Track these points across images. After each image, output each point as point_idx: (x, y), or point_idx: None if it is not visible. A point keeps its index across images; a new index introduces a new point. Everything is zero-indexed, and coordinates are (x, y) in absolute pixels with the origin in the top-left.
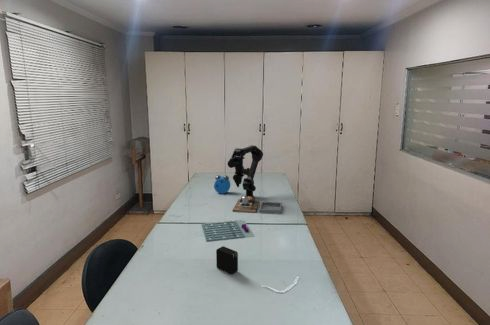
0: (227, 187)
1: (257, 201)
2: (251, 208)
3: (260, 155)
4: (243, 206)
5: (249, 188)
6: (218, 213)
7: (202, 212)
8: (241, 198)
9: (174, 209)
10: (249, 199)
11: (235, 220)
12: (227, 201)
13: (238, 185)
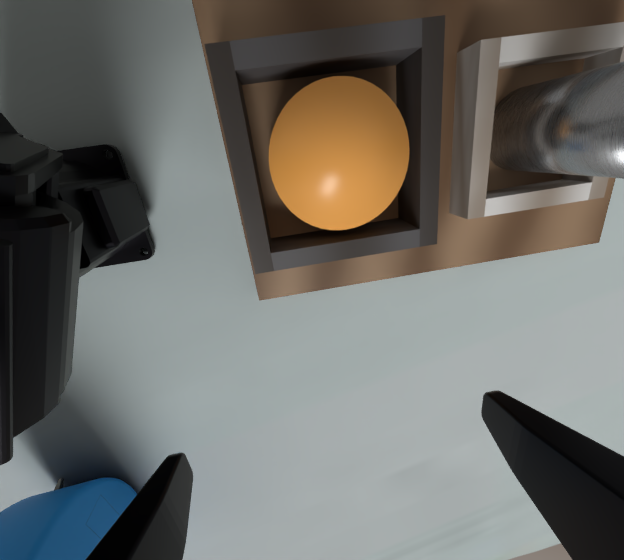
0: (71, 532)
1: (265, 5)
2: (570, 26)
3: None
4: None
5: (76, 214)
6: (614, 327)
7: (583, 423)
8: (373, 247)
9: (527, 546)
10: (398, 111)
11: None
12: (320, 375)
13: (556, 431)
